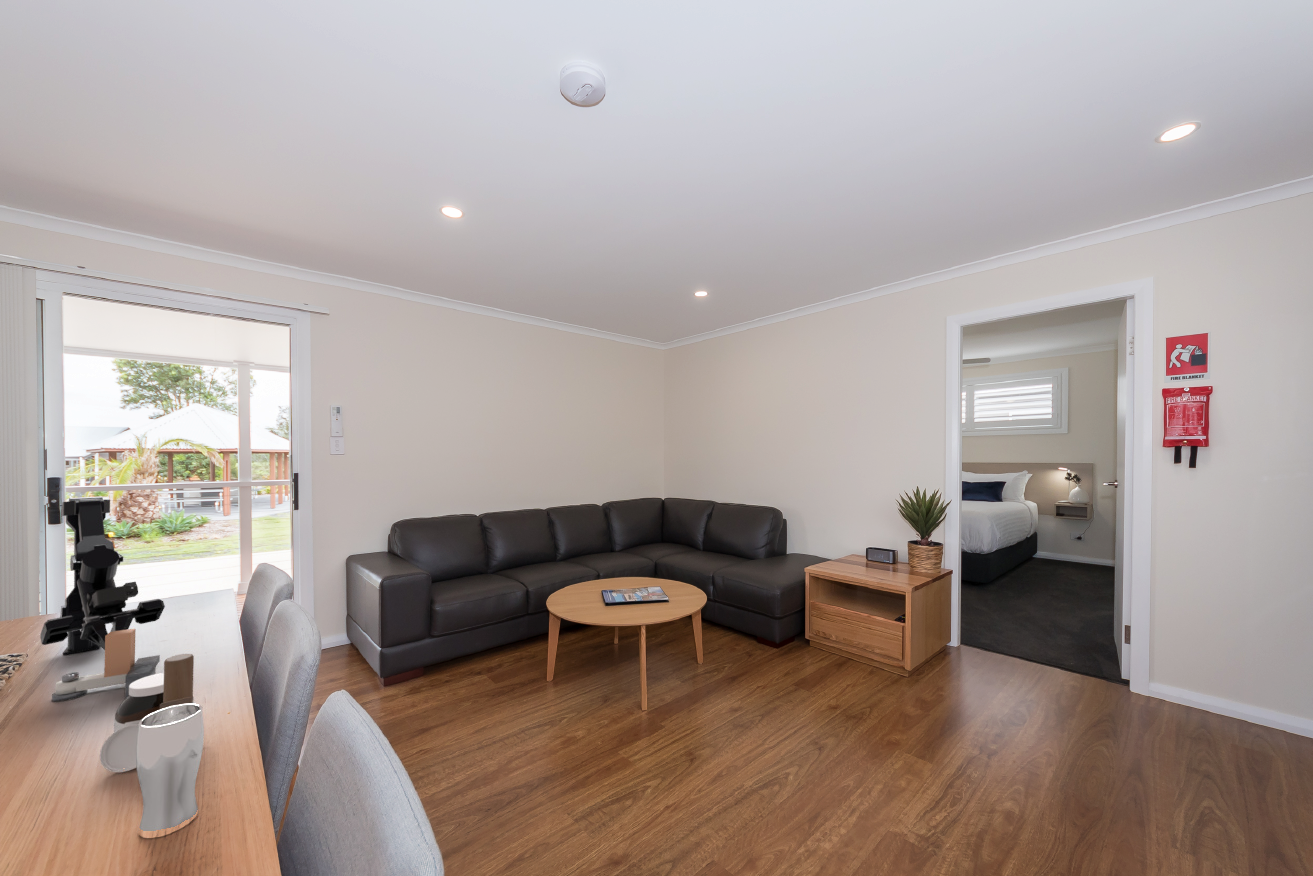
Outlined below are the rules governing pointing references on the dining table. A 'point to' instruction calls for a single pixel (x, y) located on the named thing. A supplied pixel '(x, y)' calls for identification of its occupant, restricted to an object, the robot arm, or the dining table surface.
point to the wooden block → (178, 680)
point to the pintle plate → (69, 696)
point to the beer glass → (169, 764)
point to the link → (107, 664)
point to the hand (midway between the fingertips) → (114, 652)
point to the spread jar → (131, 722)
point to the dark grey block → (141, 670)
